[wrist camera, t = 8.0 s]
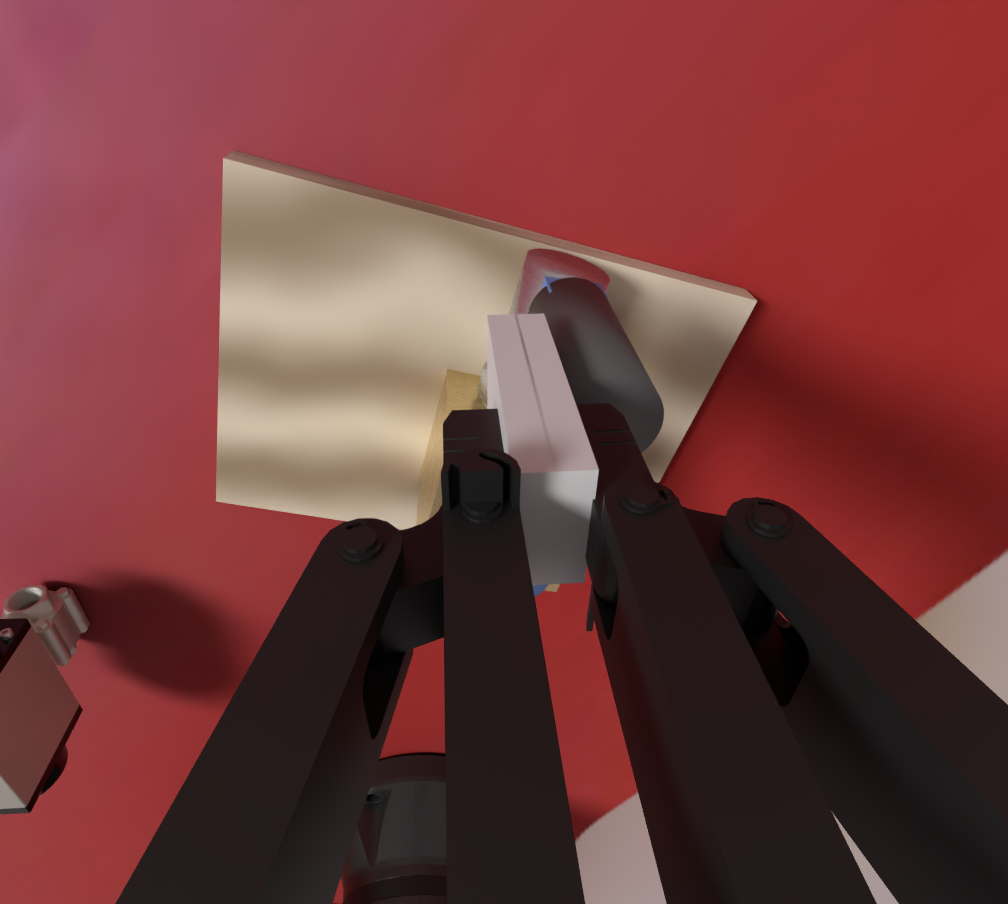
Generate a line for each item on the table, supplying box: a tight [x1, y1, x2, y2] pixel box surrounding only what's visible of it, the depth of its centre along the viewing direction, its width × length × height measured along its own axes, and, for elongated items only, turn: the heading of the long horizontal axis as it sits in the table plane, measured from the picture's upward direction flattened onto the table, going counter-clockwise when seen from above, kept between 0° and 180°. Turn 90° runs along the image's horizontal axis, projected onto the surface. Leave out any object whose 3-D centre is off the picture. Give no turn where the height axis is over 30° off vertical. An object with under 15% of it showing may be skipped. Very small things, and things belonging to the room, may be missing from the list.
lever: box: [528, 276, 664, 597], centre depth 21 cm, size 3×14×7 cm, turn 171°
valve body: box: [416, 248, 610, 592], centre depth 29 cm, size 18×7×8 cm, turn 164°
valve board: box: [216, 151, 757, 530], centre depth 32 cm, size 18×24×2 cm
